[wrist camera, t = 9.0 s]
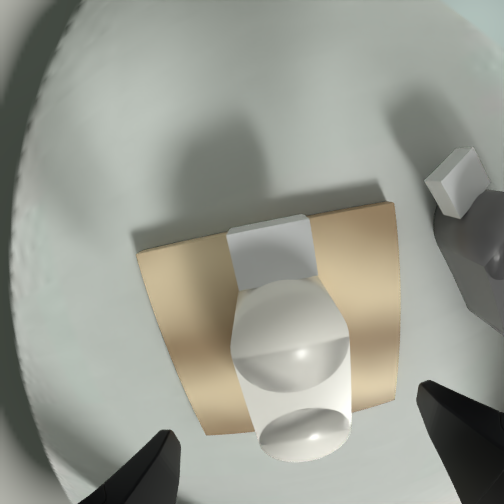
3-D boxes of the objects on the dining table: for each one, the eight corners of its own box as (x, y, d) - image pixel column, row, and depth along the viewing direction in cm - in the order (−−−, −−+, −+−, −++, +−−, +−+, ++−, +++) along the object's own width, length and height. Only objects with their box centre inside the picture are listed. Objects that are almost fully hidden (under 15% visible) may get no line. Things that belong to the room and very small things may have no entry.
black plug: (508, 283, 14) (545, 304, 10) (473, 324, 14) (508, 352, 11) (447, 143, 12) (496, 138, 8) (403, 187, 13) (450, 192, 9)
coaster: (390, 392, 15) (394, 399, 15) (207, 426, 16) (206, 435, 15) (386, 201, 13) (393, 202, 12) (142, 250, 13) (135, 254, 13)
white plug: (334, 400, 15) (350, 451, 11) (265, 413, 15) (267, 467, 11) (311, 207, 12) (337, 220, 8) (218, 226, 12) (201, 247, 8)
